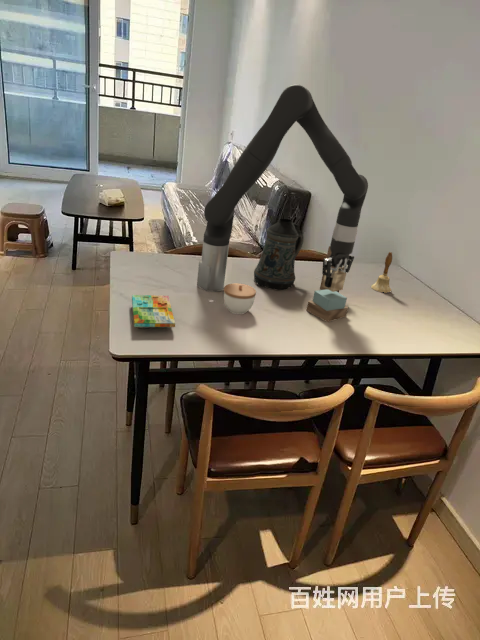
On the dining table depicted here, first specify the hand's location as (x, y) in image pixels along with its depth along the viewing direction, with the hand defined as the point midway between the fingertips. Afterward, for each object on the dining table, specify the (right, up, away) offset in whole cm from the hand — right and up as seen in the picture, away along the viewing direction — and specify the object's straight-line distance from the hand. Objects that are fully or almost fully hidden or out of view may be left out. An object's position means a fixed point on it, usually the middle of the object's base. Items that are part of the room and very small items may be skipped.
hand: (332, 285), depth 163 cm
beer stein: (-18, +4, +28) cm, 33 cm away
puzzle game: (-59, -12, -15) cm, 62 cm away
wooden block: (+2, -2, +22) cm, 22 cm away
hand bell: (+27, +1, +35) cm, 44 cm away
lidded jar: (-33, -9, -2) cm, 34 cm away
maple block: (0, -1, 0) cm, 1 cm away
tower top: (-1, -7, +3) cm, 7 cm away
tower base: (-1, -10, +5) cm, 11 cm away
